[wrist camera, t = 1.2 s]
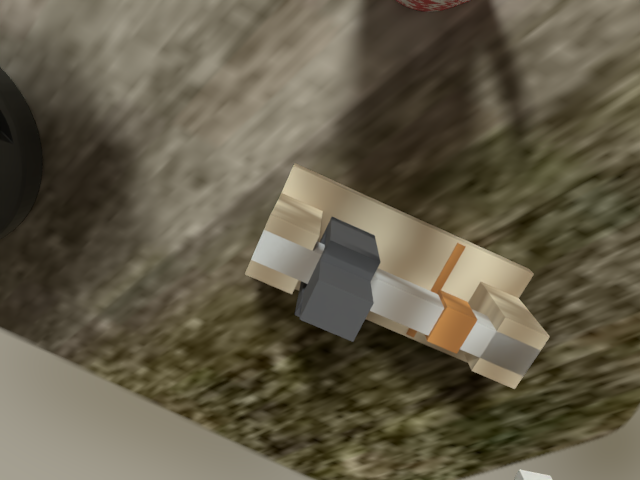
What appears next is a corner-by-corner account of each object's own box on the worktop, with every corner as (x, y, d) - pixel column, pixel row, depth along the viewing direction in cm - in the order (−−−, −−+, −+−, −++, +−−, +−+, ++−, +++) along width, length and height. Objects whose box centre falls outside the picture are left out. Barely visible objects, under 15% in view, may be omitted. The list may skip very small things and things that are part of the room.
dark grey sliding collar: (301, 281, 33) (289, 339, 26) (331, 216, 32) (329, 257, 24) (342, 299, 34) (342, 361, 26) (374, 235, 32) (385, 282, 25)
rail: (250, 264, 36) (231, 304, 30) (294, 163, 34) (284, 183, 27) (472, 358, 38) (499, 416, 32) (528, 268, 36) (570, 310, 29)
